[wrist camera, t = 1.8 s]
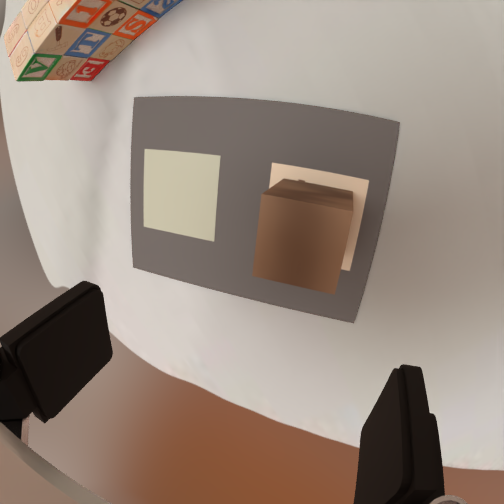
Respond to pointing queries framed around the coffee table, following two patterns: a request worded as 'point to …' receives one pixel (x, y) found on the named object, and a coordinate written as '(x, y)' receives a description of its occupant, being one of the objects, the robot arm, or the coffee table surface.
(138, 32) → the stack of blocks
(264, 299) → the mat
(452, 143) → the coffee table surface
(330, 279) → the walnut block
